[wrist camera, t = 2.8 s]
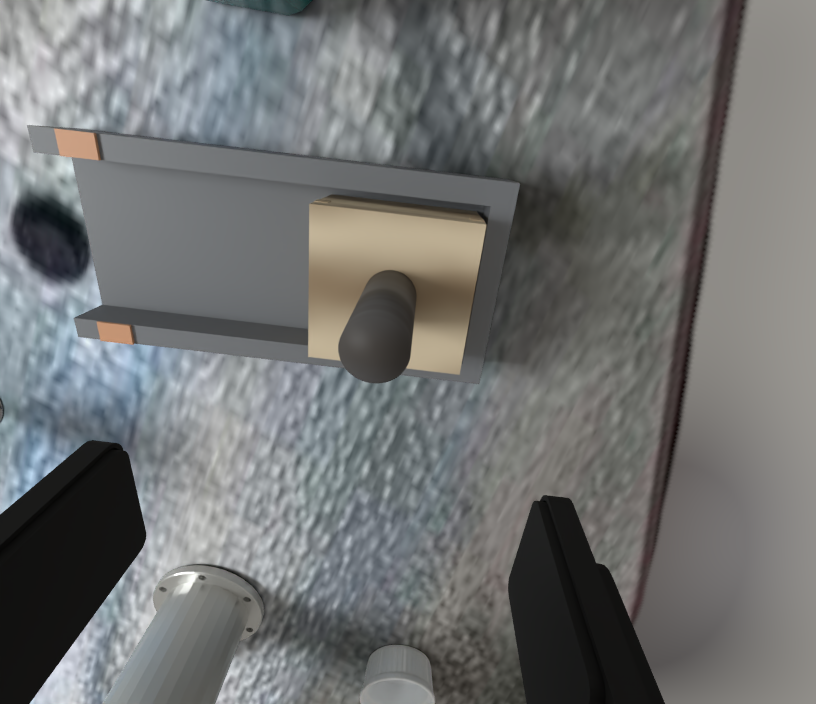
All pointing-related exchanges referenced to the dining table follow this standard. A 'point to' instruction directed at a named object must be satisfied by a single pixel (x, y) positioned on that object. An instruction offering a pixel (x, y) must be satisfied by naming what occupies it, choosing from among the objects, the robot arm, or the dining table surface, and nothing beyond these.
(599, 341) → the dining table surface
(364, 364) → the rubber stamp
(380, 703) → the ramekin
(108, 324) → the bay
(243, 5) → the pitcher
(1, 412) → the wine glass
